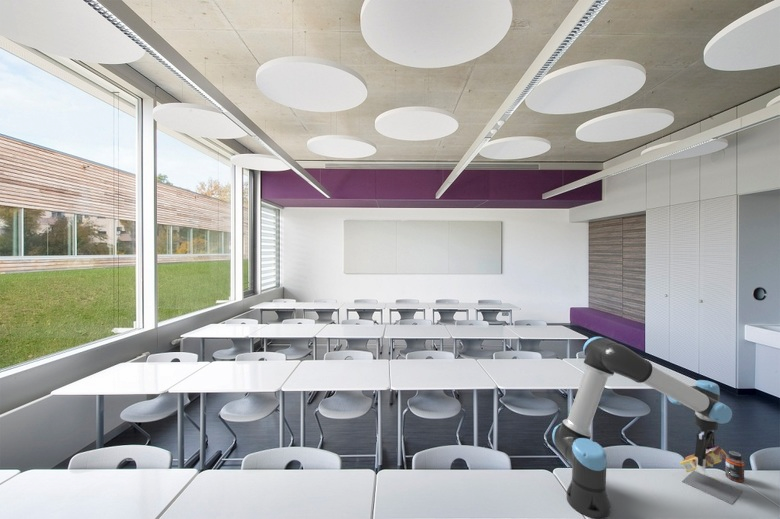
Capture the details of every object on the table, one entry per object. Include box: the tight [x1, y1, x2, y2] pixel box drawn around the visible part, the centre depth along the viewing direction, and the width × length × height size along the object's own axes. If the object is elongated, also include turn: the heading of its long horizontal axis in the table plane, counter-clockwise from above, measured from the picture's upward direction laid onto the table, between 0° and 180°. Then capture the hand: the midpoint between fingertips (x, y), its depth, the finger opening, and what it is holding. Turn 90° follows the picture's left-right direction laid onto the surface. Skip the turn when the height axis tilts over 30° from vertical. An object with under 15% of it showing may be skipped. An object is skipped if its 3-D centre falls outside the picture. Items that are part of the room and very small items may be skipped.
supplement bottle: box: [724, 450, 745, 483], centre depth 155 cm, size 6×6×11 cm
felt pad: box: [681, 470, 743, 505], centre depth 149 cm, size 16×14×1 cm
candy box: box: [679, 445, 728, 473], centre depth 151 cm, size 9×4×15 cm
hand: (704, 468), depth 151 cm, fingers closed on candy box, 9 cm apart
